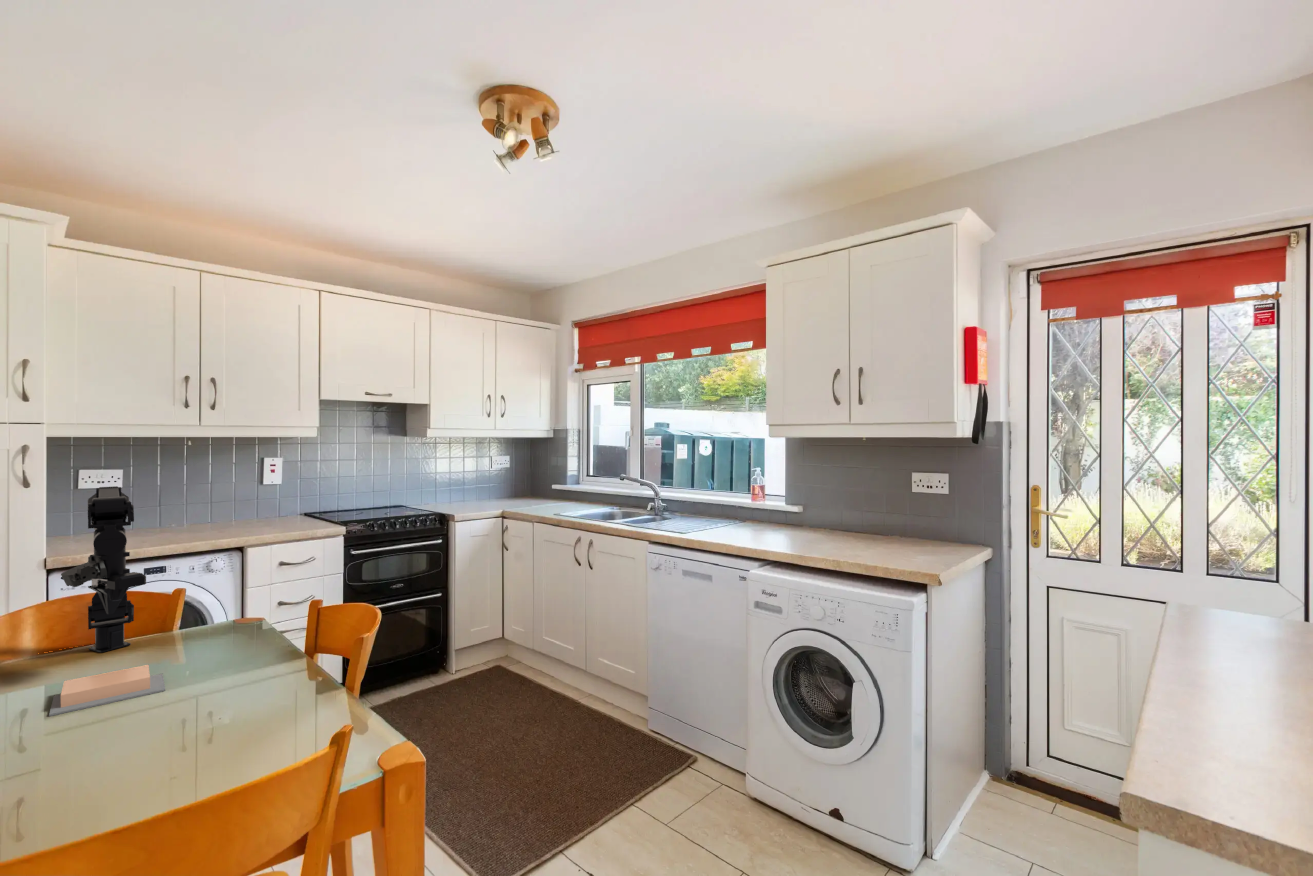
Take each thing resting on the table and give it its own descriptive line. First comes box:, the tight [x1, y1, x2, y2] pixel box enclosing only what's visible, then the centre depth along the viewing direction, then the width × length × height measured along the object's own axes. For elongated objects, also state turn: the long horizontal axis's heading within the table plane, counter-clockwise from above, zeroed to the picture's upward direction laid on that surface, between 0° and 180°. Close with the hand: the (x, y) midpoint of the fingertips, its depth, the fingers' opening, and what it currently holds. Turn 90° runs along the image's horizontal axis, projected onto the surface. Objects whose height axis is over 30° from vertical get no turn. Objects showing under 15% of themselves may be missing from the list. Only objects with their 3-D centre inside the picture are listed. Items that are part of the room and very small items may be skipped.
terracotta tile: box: [60, 664, 151, 708], centre depth 132 cm, size 2×14×10 cm
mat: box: [48, 673, 166, 717], centre depth 131 cm, size 12×18×1 cm, turn 132°
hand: (110, 613), depth 146 cm, fingers closed
